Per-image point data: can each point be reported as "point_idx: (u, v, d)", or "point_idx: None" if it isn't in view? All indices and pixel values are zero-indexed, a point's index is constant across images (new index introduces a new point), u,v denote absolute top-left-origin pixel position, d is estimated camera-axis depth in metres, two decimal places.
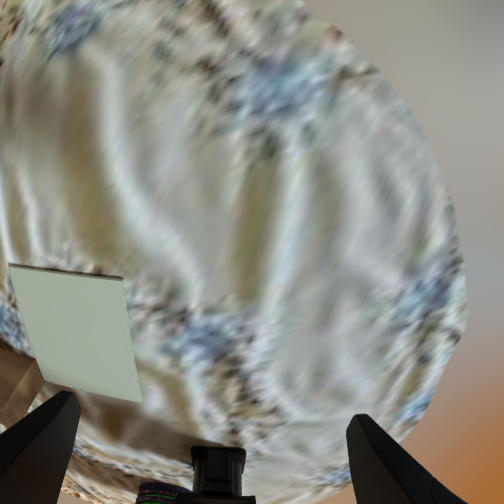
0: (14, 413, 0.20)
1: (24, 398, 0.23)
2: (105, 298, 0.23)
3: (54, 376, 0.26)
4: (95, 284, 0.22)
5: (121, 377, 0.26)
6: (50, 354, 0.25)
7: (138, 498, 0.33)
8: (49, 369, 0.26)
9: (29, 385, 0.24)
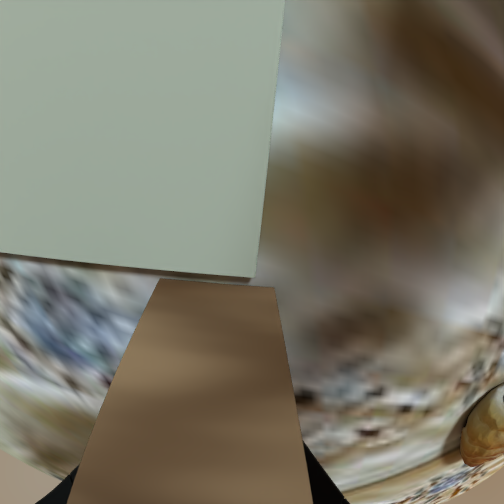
0: None
1: (214, 397, 0.05)
2: None
3: (217, 208, 0.08)
4: None
5: None
6: (98, 181, 0.08)
7: None
8: (180, 220, 0.08)
9: (200, 339, 0.07)
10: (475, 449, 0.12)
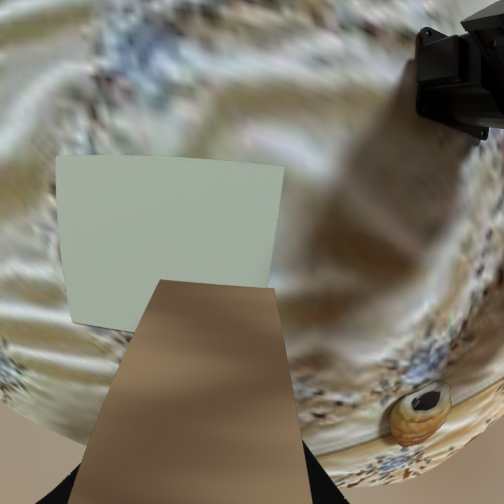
0: None
1: (214, 398, 0.05)
2: (77, 183, 0.17)
3: None
4: (63, 194, 0.17)
5: (221, 189, 0.17)
6: None
7: None
8: None
9: (200, 340, 0.07)
10: (396, 432, 0.25)
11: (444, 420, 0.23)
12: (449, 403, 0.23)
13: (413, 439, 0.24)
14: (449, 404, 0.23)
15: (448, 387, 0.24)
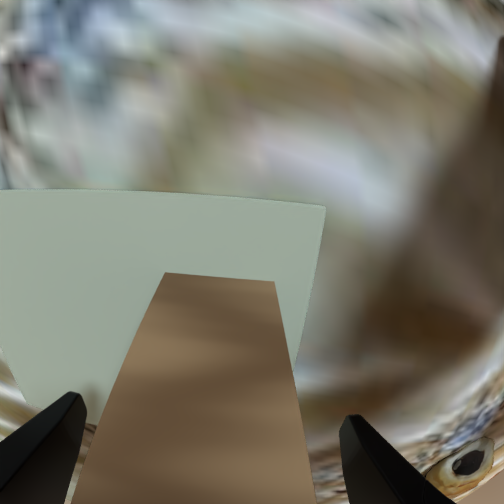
0: (202, 490, 0.03)
1: (218, 380, 0.06)
2: None
3: None
4: None
5: (210, 248, 0.10)
6: None
7: None
8: None
9: (205, 327, 0.07)
10: None
11: (483, 476, 0.16)
12: (491, 460, 0.15)
13: None
14: (491, 461, 0.15)
15: (493, 444, 0.16)
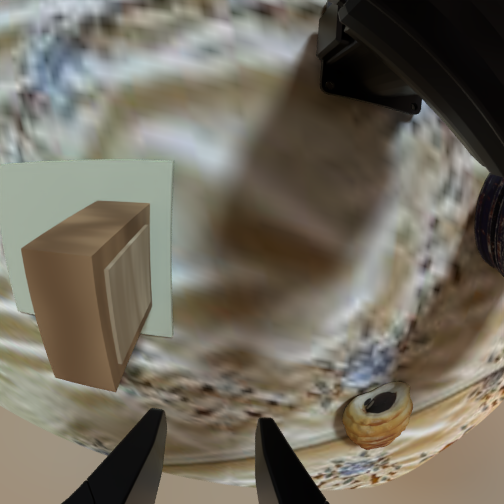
0: (67, 242, 0.11)
1: (94, 224, 0.13)
2: (10, 187, 0.17)
3: (154, 313, 0.20)
4: (1, 197, 0.17)
5: (117, 186, 0.17)
6: None
7: (502, 272, 0.17)
8: None
9: (101, 213, 0.15)
10: (351, 434, 0.24)
11: (405, 423, 0.23)
12: (409, 405, 0.23)
13: (371, 442, 0.24)
14: (409, 406, 0.23)
15: (407, 388, 0.23)
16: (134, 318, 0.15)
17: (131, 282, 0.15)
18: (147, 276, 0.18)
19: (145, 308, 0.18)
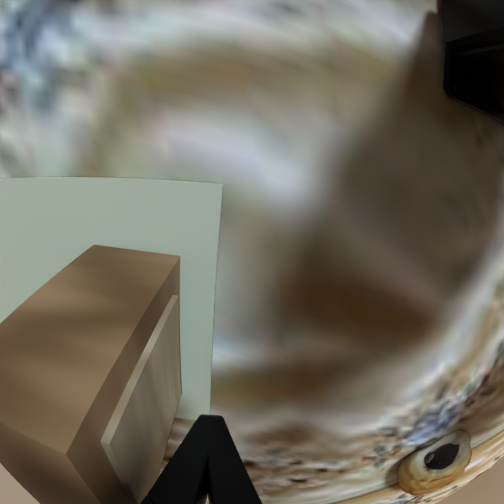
0: (20, 383, 0.04)
1: (78, 319, 0.07)
2: None
3: (185, 397, 0.14)
4: None
5: (126, 223, 0.11)
6: None
7: None
8: None
9: (94, 284, 0.08)
10: (405, 488, 0.18)
11: (462, 471, 0.16)
12: (469, 454, 0.16)
13: (425, 492, 0.17)
14: (469, 455, 0.16)
15: (469, 437, 0.17)
16: (160, 445, 0.09)
17: (154, 406, 0.08)
18: (176, 369, 0.11)
19: (174, 412, 0.11)
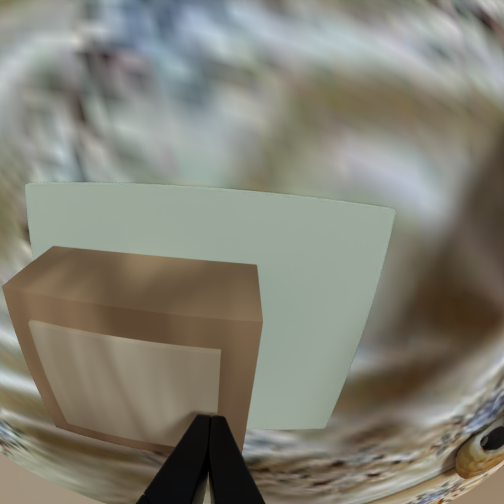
0: (50, 267, 0.09)
1: (111, 278, 0.09)
2: (60, 228, 0.10)
3: (311, 407, 0.14)
4: (40, 244, 0.10)
5: (300, 243, 0.11)
6: None
7: None
8: (291, 413, 0.14)
9: (168, 277, 0.09)
10: (463, 471, 0.18)
11: None
12: None
13: (478, 474, 0.17)
14: None
15: None
16: (122, 424, 0.09)
17: (114, 386, 0.08)
18: None
19: None
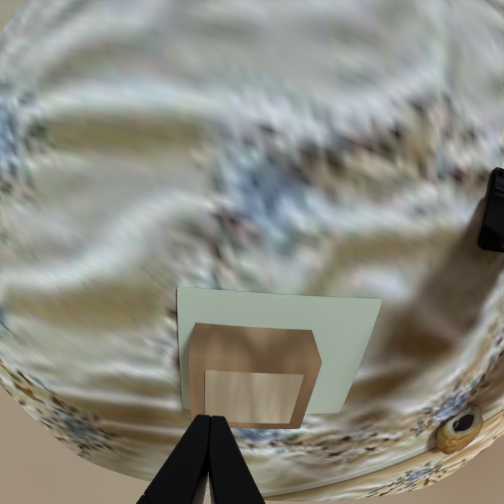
0: (208, 340, 0.19)
1: (247, 344, 0.19)
2: (202, 314, 0.20)
3: (333, 399, 0.24)
4: (185, 321, 0.21)
5: (333, 319, 0.21)
6: None
7: None
8: (321, 403, 0.24)
9: (274, 342, 0.20)
10: (442, 447, 0.28)
11: (477, 433, 0.27)
12: (481, 421, 0.26)
13: (454, 450, 0.27)
14: (481, 422, 0.26)
15: (480, 410, 0.27)
16: (243, 414, 0.19)
17: (247, 395, 0.19)
18: (288, 406, 0.19)
19: (272, 421, 0.20)
